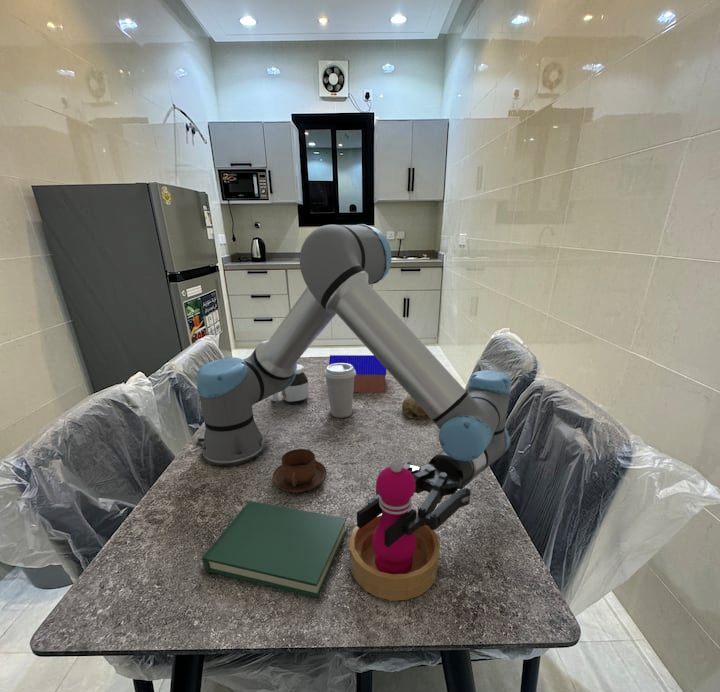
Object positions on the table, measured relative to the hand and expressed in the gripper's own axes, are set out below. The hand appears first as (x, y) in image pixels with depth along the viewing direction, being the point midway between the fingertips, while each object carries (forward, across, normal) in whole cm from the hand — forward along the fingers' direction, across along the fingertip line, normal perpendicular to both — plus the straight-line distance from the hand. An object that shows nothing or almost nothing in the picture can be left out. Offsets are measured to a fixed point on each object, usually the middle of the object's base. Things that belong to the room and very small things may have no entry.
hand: (372, 529), depth 57 cm
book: (+6, +16, -11) cm, 21 cm away
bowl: (-5, 0, -11) cm, 12 cm away
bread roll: (-56, +33, -11) cm, 66 cm away
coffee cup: (-39, +50, -11) cm, 64 cm away
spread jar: (-34, +70, -11) cm, 78 cm away
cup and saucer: (-9, +31, -11) cm, 34 cm away
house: (-59, +62, -11) cm, 86 cm away
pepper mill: (-5, 0, -11) cm, 12 cm away
